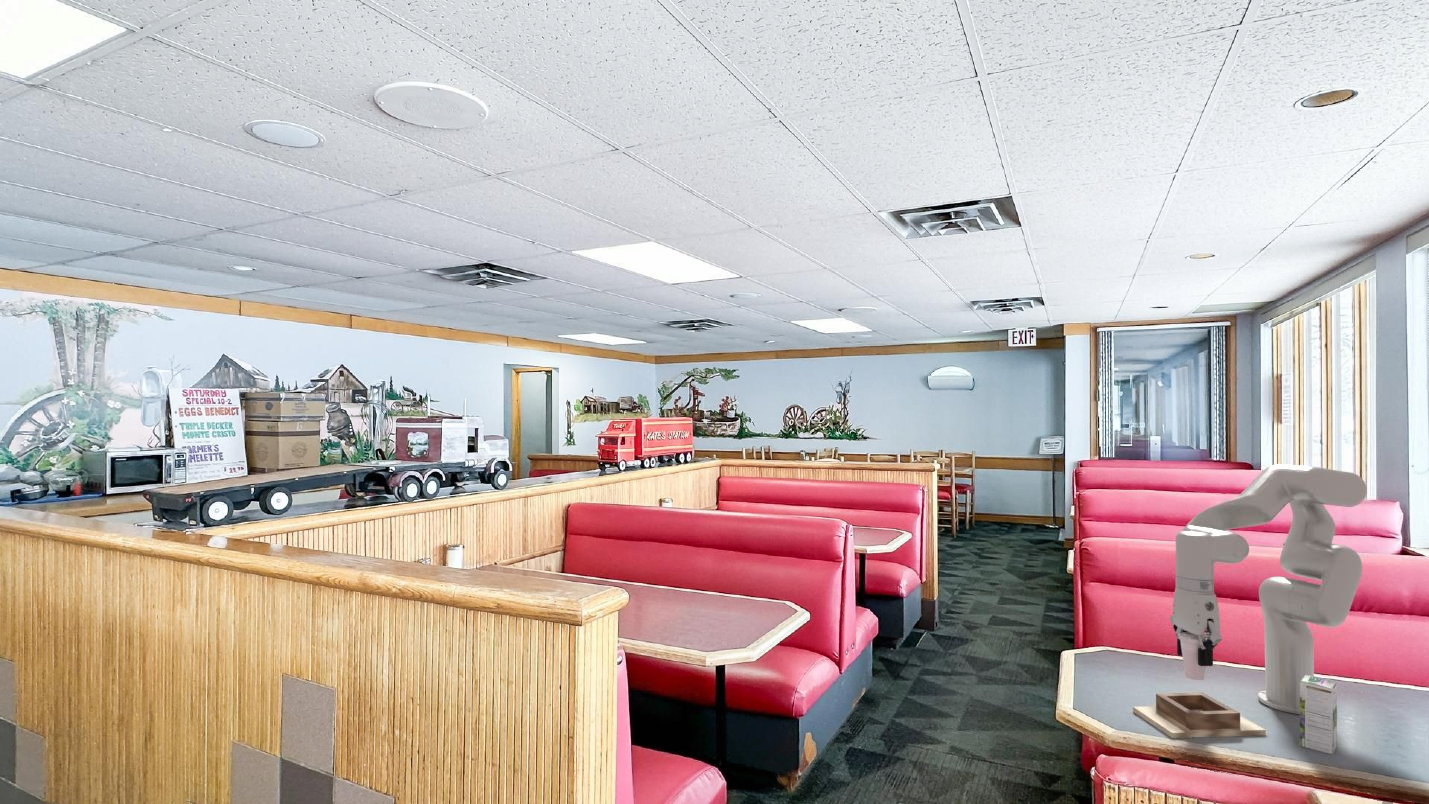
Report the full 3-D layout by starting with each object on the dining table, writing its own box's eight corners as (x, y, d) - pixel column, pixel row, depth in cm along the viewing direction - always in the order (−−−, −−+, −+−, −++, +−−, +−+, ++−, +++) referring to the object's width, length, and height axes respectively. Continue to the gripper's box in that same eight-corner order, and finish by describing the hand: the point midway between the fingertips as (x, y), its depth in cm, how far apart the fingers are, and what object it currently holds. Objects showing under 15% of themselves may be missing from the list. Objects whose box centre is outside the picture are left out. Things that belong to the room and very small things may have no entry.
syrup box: (1303, 738, 160) (1302, 673, 160) (1338, 747, 156) (1337, 680, 156) (1299, 746, 157) (1298, 680, 157) (1334, 755, 152) (1333, 688, 152)
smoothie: (1216, 683, 165) (1216, 622, 165) (1185, 681, 166) (1185, 621, 166) (1203, 673, 171) (1203, 615, 171) (1173, 671, 172) (1173, 613, 172)
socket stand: (1219, 709, 176) (1219, 690, 176) (1265, 735, 162) (1265, 714, 162) (1133, 711, 175) (1132, 692, 175) (1172, 738, 161) (1172, 717, 161)
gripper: (1238, 593, 160) (1238, 673, 160) (1184, 575, 177) (1184, 648, 177) (1206, 593, 160) (1206, 674, 160) (1154, 576, 177) (1155, 648, 177)
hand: (1194, 659), depth 168 cm, fingers closed on smoothie, 6 cm apart
